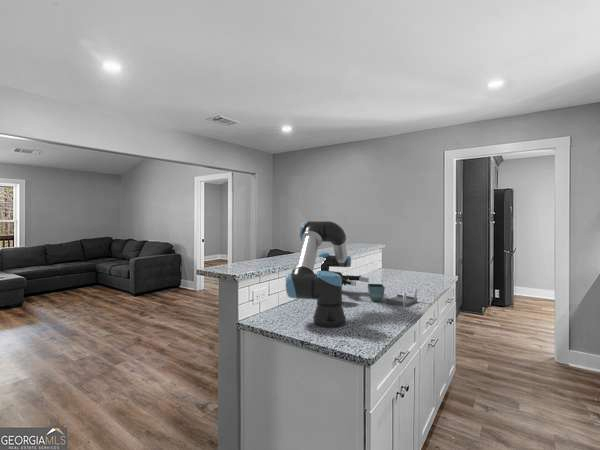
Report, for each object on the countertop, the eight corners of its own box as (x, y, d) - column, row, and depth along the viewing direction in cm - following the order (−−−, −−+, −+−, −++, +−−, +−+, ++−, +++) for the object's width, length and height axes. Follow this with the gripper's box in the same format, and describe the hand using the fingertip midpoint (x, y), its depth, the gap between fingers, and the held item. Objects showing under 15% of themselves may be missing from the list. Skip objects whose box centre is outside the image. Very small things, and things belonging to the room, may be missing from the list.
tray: (405, 306, 177) (405, 293, 177) (385, 302, 185) (385, 289, 185) (417, 301, 187) (417, 288, 187) (398, 298, 196) (398, 285, 196)
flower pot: (382, 298, 195) (382, 283, 195) (384, 302, 186) (384, 286, 186) (367, 298, 196) (367, 283, 196) (369, 302, 187) (369, 286, 187)
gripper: (346, 280, 222) (373, 284, 207) (322, 286, 205) (349, 291, 190) (346, 269, 222) (373, 273, 207) (322, 274, 205) (349, 278, 190)
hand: (362, 281), depth 198 cm, fingers open, 13 cm apart
